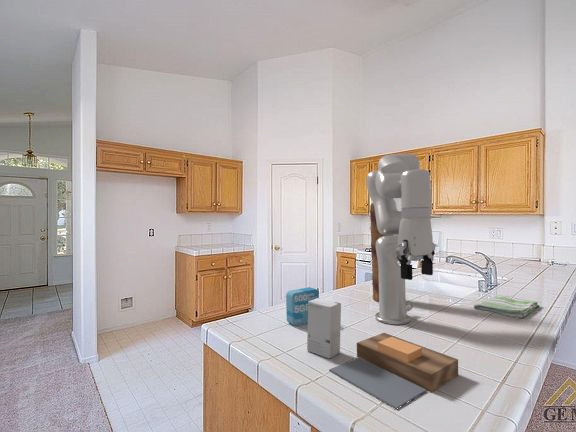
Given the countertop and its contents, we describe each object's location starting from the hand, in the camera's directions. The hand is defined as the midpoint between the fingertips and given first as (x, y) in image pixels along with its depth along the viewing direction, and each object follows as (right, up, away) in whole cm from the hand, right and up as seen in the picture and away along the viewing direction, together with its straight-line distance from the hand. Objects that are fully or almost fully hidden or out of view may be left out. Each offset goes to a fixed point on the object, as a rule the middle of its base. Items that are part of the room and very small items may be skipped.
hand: (417, 276), depth 86 cm
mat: (-15, -23, -11) cm, 29 cm away
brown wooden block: (-5, -23, -4) cm, 24 cm away
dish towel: (+54, -22, +43) cm, 73 cm away
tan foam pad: (-7, -19, -5) cm, 21 cm away
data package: (-30, -23, +31) cm, 49 cm away
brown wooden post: (+8, -22, +58) cm, 63 cm away
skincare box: (-25, -23, +5) cm, 35 cm away
